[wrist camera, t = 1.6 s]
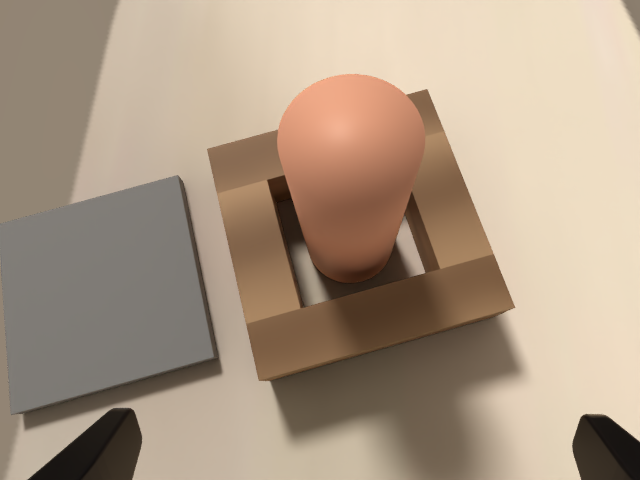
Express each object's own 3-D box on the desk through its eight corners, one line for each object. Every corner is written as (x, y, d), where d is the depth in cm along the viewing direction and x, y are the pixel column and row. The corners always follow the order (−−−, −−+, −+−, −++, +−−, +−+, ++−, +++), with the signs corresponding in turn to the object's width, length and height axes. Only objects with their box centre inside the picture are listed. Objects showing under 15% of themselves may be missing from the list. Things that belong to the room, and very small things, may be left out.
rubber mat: (218, 357, 23) (214, 357, 23) (21, 413, 23) (10, 414, 22) (182, 181, 26) (177, 175, 26) (8, 229, 26) (-2, 224, 25)
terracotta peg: (404, 269, 24) (446, 182, 14) (320, 293, 24) (297, 224, 14) (377, 192, 25) (398, 58, 15) (298, 214, 25) (262, 95, 15)
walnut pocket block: (494, 316, 23) (515, 307, 20) (270, 380, 23) (258, 380, 20) (418, 120, 27) (427, 89, 24) (222, 174, 26) (207, 149, 23)
